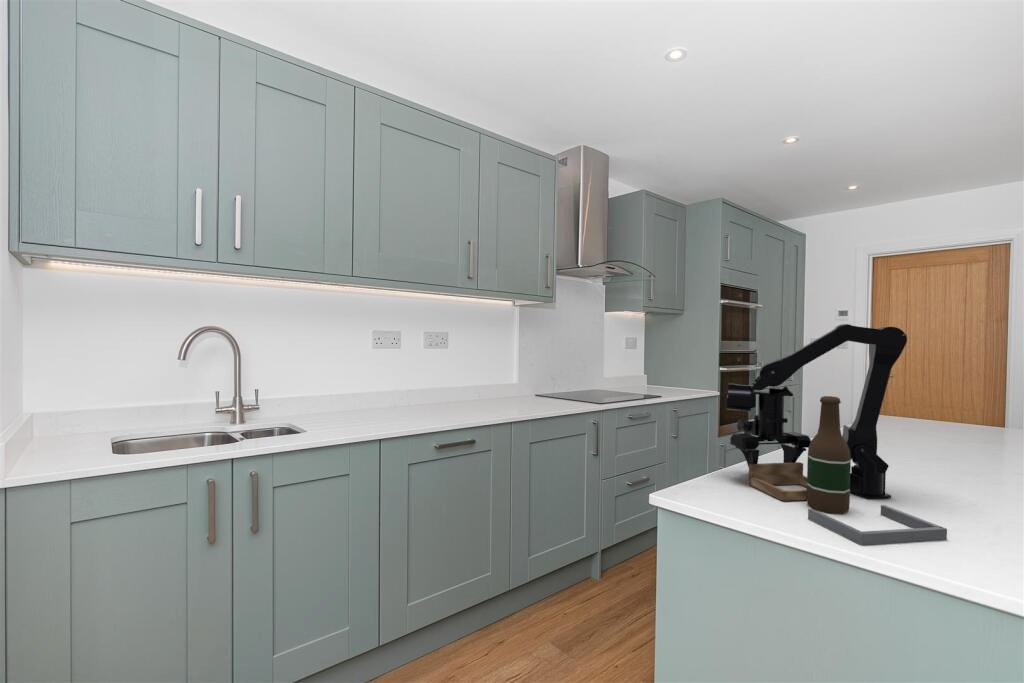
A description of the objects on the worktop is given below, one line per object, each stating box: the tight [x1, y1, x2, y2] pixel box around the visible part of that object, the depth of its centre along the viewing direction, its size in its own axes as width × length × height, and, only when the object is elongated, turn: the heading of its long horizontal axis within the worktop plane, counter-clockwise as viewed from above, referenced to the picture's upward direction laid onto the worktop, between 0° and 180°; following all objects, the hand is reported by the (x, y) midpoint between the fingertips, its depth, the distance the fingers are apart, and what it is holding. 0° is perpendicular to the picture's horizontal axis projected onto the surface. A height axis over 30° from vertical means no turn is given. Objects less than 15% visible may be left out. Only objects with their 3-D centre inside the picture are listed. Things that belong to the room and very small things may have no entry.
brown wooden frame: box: [748, 461, 807, 502], centre depth 117 cm, size 14×12×5 cm
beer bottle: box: [806, 395, 852, 515], centre depth 106 cm, size 8×8×24 cm
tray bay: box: [807, 504, 948, 546], centre depth 95 cm, size 18×12×2 cm
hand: (769, 474), depth 124 cm, fingers open, 9 cm apart
